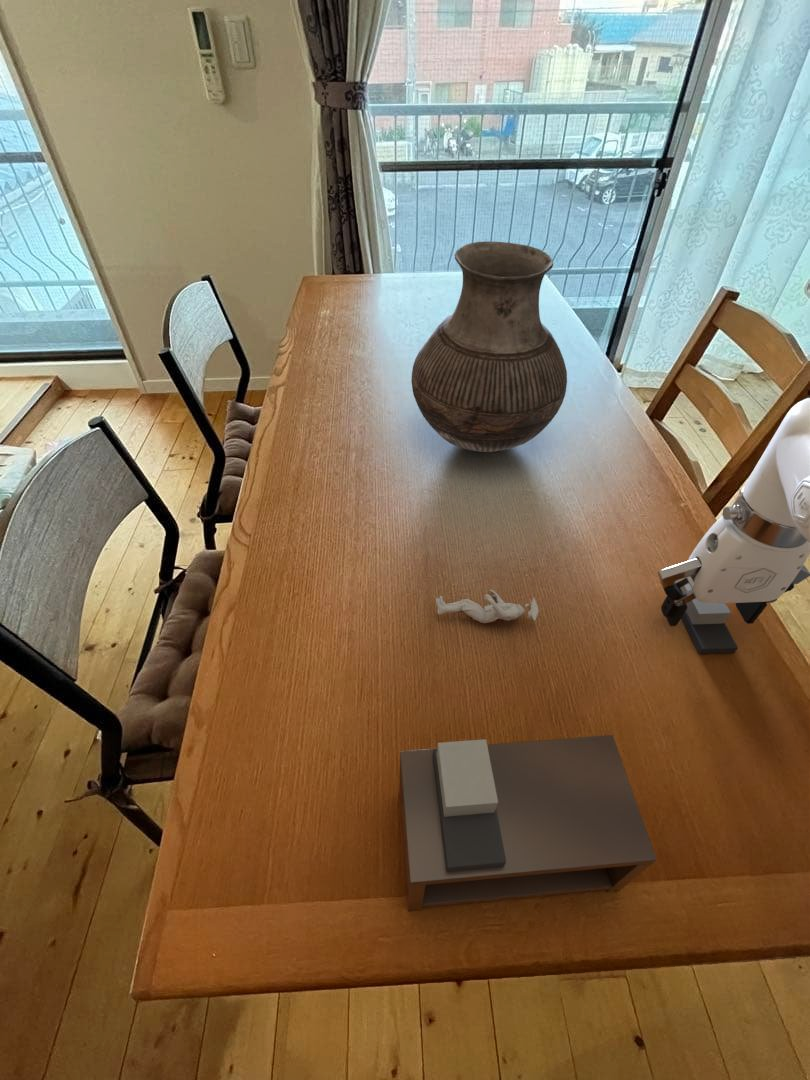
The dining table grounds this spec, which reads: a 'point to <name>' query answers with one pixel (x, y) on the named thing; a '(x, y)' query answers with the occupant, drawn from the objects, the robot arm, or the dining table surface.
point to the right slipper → (708, 626)
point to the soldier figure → (488, 609)
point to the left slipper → (468, 806)
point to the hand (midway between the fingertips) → (705, 615)
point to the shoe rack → (531, 824)
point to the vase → (492, 354)
